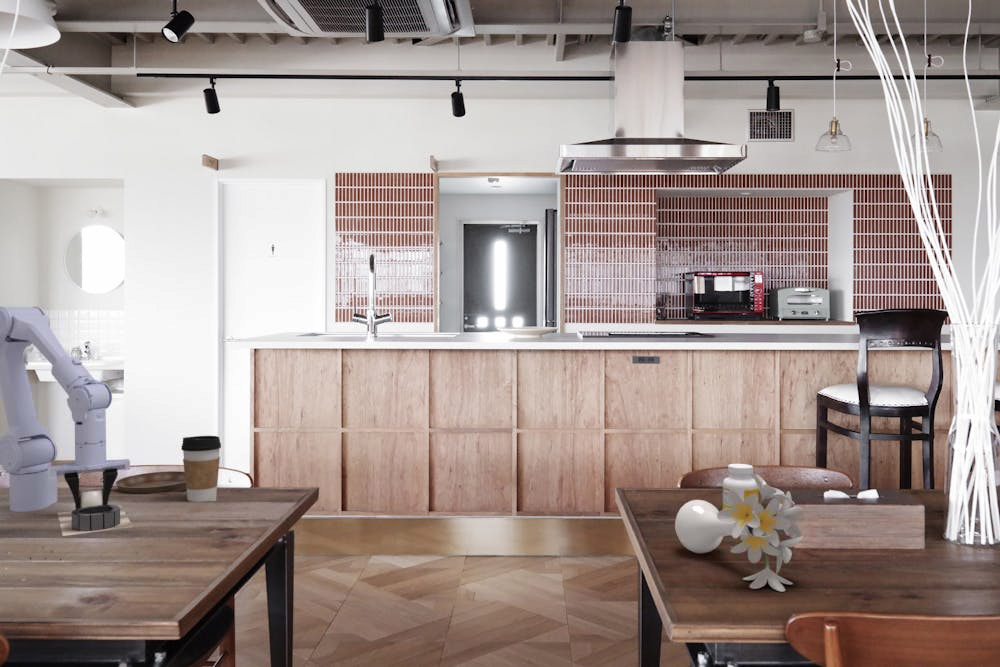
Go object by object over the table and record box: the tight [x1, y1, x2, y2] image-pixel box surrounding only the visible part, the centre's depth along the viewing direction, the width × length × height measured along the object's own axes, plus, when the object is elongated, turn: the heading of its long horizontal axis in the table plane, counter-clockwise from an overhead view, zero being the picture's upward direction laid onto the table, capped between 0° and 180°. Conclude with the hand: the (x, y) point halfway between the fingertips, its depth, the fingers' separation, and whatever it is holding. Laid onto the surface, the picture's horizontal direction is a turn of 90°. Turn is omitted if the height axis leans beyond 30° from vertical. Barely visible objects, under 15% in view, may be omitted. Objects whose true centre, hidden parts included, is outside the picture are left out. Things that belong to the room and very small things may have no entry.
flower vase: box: [674, 472, 805, 593], centre depth 132 cm, size 13×18×25 cm
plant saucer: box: [114, 470, 187, 494], centre depth 190 cm, size 18×18×3 cm
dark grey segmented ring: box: [71, 504, 120, 531], centre depth 154 cm, size 8×8×3 cm
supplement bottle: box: [722, 463, 759, 510], centre depth 153 cm, size 7×7×13 cm
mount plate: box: [57, 505, 133, 537], centre depth 159 cm, size 20×12×1 cm, turn 32°
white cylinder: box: [79, 487, 103, 508], centre depth 163 cm, size 4×4×5 cm
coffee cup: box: [180, 435, 222, 503], centre depth 176 cm, size 8×8×15 cm
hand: (91, 507), depth 163 cm, fingers closed on white cylinder, 4 cm apart
